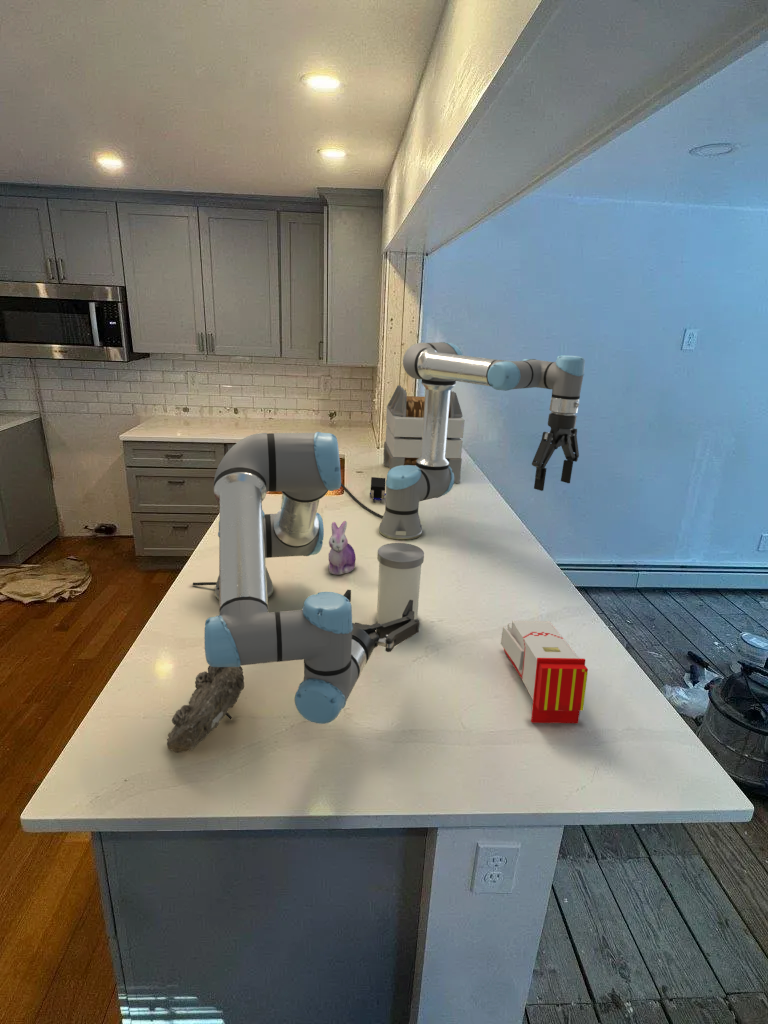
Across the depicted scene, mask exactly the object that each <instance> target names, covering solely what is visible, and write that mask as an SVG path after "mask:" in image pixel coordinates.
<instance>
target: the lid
mask: <svg viewBox="0 0 768 1024" xmlns="http://www.w3.org/2000/svg"><path fill="white" fill-rule="evenodd" d="M376 558H377V561H378V563H379V562H380V563H381V564H383V565H385V566H387V567H390V568H396V569H411V568H415V567H418V566H420V565H421V566H422V564H423V563H424V559H425V552H424V550H423V549H422V548H420V547H419V546H417V545H415V544H412V543H406V542H391V543H386V544H383V545H381V546H380V547H379V548H377V557H376Z"/></svg>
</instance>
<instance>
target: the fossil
mask: <svg viewBox="0 0 768 1024" xmlns="http://www.w3.org/2000/svg"><path fill="white" fill-rule="evenodd" d="M243 670H244V669H243V666H240V667H212V666H210V665H209V664H208V666H207V671H201V672H199V673H198V674H197V675H196V676H195V680H194V684H195V685H194V687H195V689H194V690H193V693H192V694H191V697H190V698H189V700H188V704H184V705H182V706H181V707H180V709H177V710H176V711H175V713H174V715H173V716H172V718H171V723H172V724H173V727H172V730H171V731H170V732H168V734H167V738H166V741H167V742H166V745H167V749H168V750H169V751H173V752H174V753H176V754H178V753H182V752H188V751H189V752H192V751H193V750H195V748H196V747H197V746H199V744H200V743H201V742H203V741H204V740H205V739H206V738H207V737H208V736H209V735H210V734H211V733H212V732H214V730H215V729H217V727H218V726H219V724H220V722H221V721H222V720H223V719H224V718H225V716H226V717H227V719H229V720H233V717H232V715H230V714H229V710H230V709H231V708H234V706H235V704H236V703H237V702H238V699H239V697H240V695H241V693H242V691H243V690H245V689H244V688H245V675H244V671H243Z"/></svg>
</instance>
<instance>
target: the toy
mask: <svg viewBox="0 0 768 1024" xmlns="http://www.w3.org/2000/svg"><path fill="white" fill-rule="evenodd" d="M500 645H501V646H502V648H503V652H504V654H505V655H506V657H507V658H508V660H509V661H510V663H511V664H512V666H513V668H514V669H515V671H516V672H517V674H518V676H519V677H520V679H521V680H522V683H523V685H524V686H525V688H526V690H527V692H528V694H529V696H530V697H531V699H532V708H531V719H530V722H531V723H532V724H579V719H580V712H583V711H584V706H585V697H586V689H587V680H588V671H589V669H588V667H587V666H586V659H585V658H580V657H579V656H578V655H577V654H576V652H575V651H574V650H573V648H572V647H571V646H570V645H569V644H568V642H567V641H566V640H565V638H564V637H563V636H562V634H561V633H560V632H559V631H558V630H557V628H556V627H555V626H554V624H553V623H552V622H551V621H549V620H548V621H545V620H540V621H539V620H511V622H508V623H507V626H502V632H501V638H500Z"/></svg>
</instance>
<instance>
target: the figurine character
mask: <svg viewBox="0 0 768 1024" xmlns="http://www.w3.org/2000/svg"><path fill="white" fill-rule="evenodd" d="M369 490H370V491H369V498H370V500H372V502H373V503H376V501H379V503H380V504H381V503H382V502H383V500H385V499H386V477H376V476H371V478H370V489H369Z"/></svg>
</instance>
